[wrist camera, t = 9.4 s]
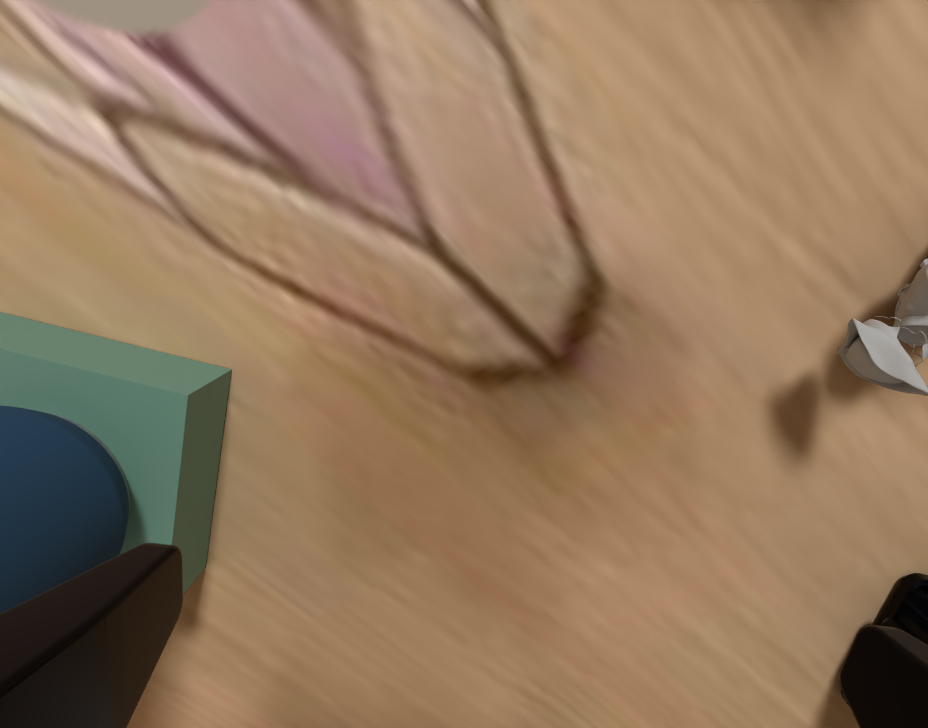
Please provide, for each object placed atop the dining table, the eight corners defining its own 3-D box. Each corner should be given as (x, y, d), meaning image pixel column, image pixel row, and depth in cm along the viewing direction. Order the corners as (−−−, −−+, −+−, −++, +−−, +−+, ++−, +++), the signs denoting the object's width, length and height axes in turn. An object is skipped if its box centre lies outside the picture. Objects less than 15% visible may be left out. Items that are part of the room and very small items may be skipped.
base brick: (231, 369, 20) (188, 395, 17) (205, 567, 23) (163, 619, 20) (-36, 303, 20) (-126, 317, 17) (-34, 510, 22) (-111, 553, 19)
